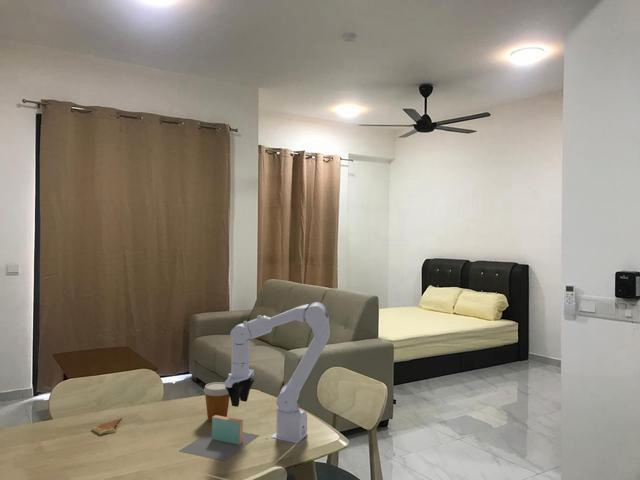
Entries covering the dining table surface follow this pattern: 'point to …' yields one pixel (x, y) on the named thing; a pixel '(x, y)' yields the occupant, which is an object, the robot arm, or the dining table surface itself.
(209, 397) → the disposable coffee cup
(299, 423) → the robot arm
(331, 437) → the dining table surface
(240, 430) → the terracotta tile
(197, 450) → the rubber mat
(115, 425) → the pizza slice
